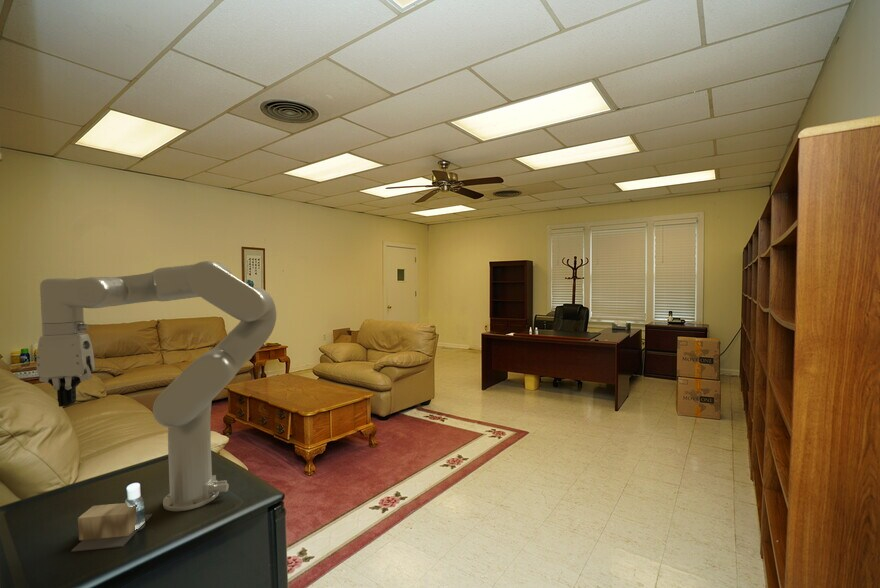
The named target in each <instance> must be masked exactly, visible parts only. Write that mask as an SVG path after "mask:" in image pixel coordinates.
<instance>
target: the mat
mask: <svg viewBox="0 0 880 588" xmlns="http://www.w3.org/2000/svg"><path fill="white" fill-rule="evenodd" d="M144 515H145V522H146V521H147V522H148V521H149V520H150V519H151V518H152V516H153V513H150V514H144ZM147 522H146V523H147ZM137 532H139V530H138V529H136V530H134V531H133V532H132V533H131V534H130V535H129V536H121V537H110V538H99V539H89V540H80V542H79V543H78V544H76V546H74V547H73V548H72V549H71V552H83V551H84V552H85V551H91V550H103V549H104V550H105V549H112V548H122V547H124V546H125V544H127V543H128V541H130V540H131V539H132V538H133V536H134V535H135V534H137Z"/></svg>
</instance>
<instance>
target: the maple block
mask: <svg viewBox="0 0 880 588" xmlns="http://www.w3.org/2000/svg"><path fill="white" fill-rule="evenodd" d="M127 503H128V502H123V503H121V502H120V503H112V504H99V505H98V504H97V505H92V506H91V507H90V508H89V509H87V510H86V511H85V512H83V513H82V514H81V515H80V516H79V517H77V524H78V525H77V526H78V530H77V531H78V540H79V541H82V540H89V539H99V538H110V537H121V536H129V535H130V534H131V533H132V532H133V531H134V530H135V523H136V507H137V505H135V506H133V507H128V506H127Z"/></svg>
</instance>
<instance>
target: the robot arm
mask: <svg viewBox="0 0 880 588" xmlns="http://www.w3.org/2000/svg"><path fill="white" fill-rule="evenodd" d="M39 291H40V294H39V296H40V310H41V312H40V313H41V331H42V333H41V335H42V336H41V335H40V337H39V340H38V343H37V350H36V372H37V375H38V377H39V379H38V380H39V382H41V383H45V384H46V383H47V384H50V385H51V386H52V387H53V389H54V390H55V391H56V392H57V395H56V396H57V403H58V407H59V408H61V407H69V406H71V405H73V404H76V400H77V387H79V385H80V384H81V383H83V381H87V380H91V379H92V378H93V375H92V372H94V371H95V369H96V368H95V367H96V366H95V365H96V364H95V355H94V348H93V344H92V341H91V337H90V334H89V333H86V332H85V331H87V330H89V329H90V325H89V324H88V323H85V317H84V309H102V308H108V307H109V308H110V307H116V306H117V307H118V306H123V305H124V306H125V305H131V304H141V303H146V302H147V303H148V302H169V301H177V300H183V299H184V300H185V299H193V298H201V299H203V300H205V301H206V302H207V303H209V304H211V305H212V306H214V307H216V308H217V309H219V310H221V311H223V312H224V313H226V314H227V315H229V316H231V317H233V318H234V319H236V320H238V321H239V322H238V324H237V325H236V326H235V327H233V329H232V330H231V331H230V332H229V333H227V335H226V336H225V337H224V338H223V339H222V340H221V341H220V342H219V343H217V344H216V345H215V346H214V347H213V348H212V349H210V350H208V351H206V352H205V353H203V354H201V355H200V356H199V357H197V358H196V359H194V360H193V361H192V362H191V363H190V364H189V365H188V366H187V367H186V368H185V369H184V370H182V371H181V373H180V374H178V375H177V376H176V377H175V379H173V381H171V383H169V384H168V385H167V386H166V388H164V390H162V391H161V392H160V394H158V396H157V397H156V399H155V400H154V403H153V406H152V415H153V417H154V419H155V421H156V422H157V423H158V424H159V425H161V426H163V427H164V428H165V427H166V428H167V451H168V479H169V480H168V481H169V483H168V484H169V493H168V494H167V495H166V496H165V497H164V498H163V500H162V507H163V508H164V510H166V511H170V512H186V511H191V510H194V509H197V508H200V507H203V506H205V505H207V504H209V503H211V502H213V501H214V500H215V499H216V498H217V497H218V496H219V494H220V493H221V492H222V493H223V492H225V493H226V492H228V491H229V488H230V487H229V486H230V485H229V483H228V481H227V479H226V480H225V479H224V480H218V479H217V475H216V474H214V475H213V470H212V469H213V465H212V444H211V443H212V440H211V438H212V436H211V435H212V434H211V428H212V427H211V413H212V401H213V400H214V399H215V398H216V397H217V396H218V395H219V394H220V393H221V392H222V391H223V390H224V389H225V388H226V387H227V385H228V384H229V383H231V381H232V380H233V379H234V378H235V377H236V376H237V374H238V372H239V371H240V370H241V369H242V368H243V367H244V366H245V365H246V363H247V362H249V360H251V358H253V356H254V355H255V354H256V353H257V352H258V351H259V350H260V349H261V348H262V347H263V346H264V344H266V342H267V341H268V339H269V338H270V336H271V335H272V333H273V331H274V328H275V327H276V321H277V309H276V304H275V301H274V299H273V297H272V295H271V294H270V293H269V292H268V291H267V290H265V289H264V288H261V287H253V286H250V285H249V284H247V283H245V281H242V280H241V279H239V278H237V277H236V276H234V275H233V274H232V272H231V270H230V269H229V268H228V266H226V265H225V264H223V263H222V262H215V261H212V260H211V261H210V260H207V261H206V260H203V261H199V262H196V263H195V264H188V265H180V266H179V265H177V266H167V267H159V268H156V269H154V270H153V271H151V272H146V273H140V274H139V273H138V274H131V275H124V276H94V277H93V276H91V277H89V276H88V277H82V278H69V277H68V278H67V277H66V278H64V277H63V278H45V279H43V280H42V281H41V282H40V284H39Z"/></svg>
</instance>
